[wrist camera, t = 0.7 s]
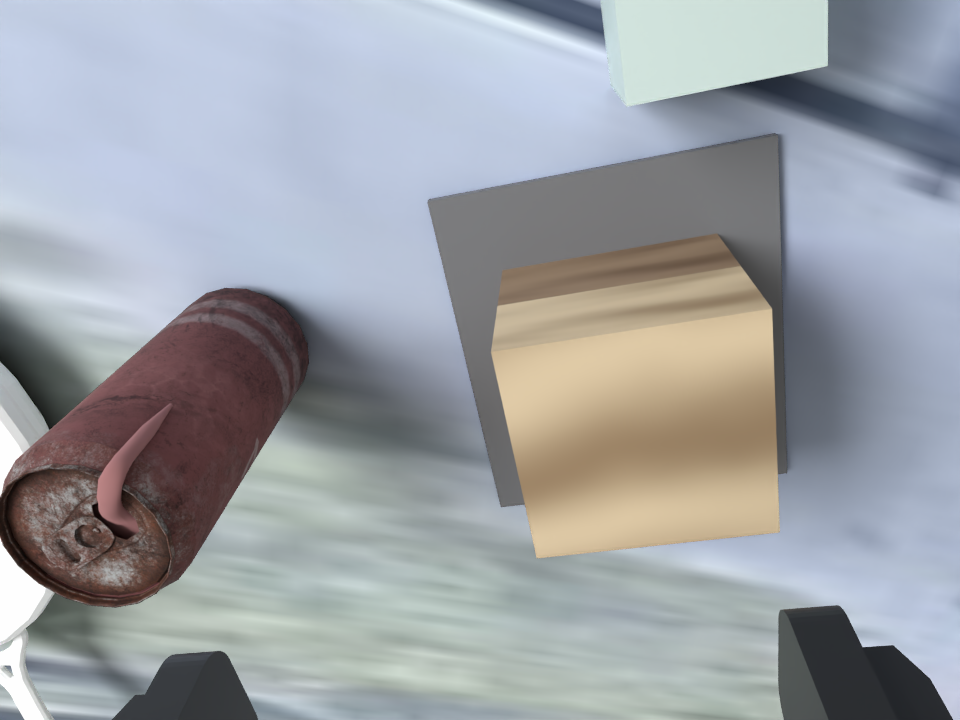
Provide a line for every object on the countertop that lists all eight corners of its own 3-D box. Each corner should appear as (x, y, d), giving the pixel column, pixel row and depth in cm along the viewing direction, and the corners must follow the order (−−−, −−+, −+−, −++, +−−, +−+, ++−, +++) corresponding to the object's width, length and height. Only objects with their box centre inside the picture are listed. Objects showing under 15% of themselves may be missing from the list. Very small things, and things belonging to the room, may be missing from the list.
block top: (497, 305, 28) (491, 351, 24) (741, 265, 26) (772, 308, 23) (537, 494, 32) (536, 558, 28) (751, 468, 30) (779, 532, 27)
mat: (428, 199, 30) (427, 201, 30) (774, 133, 28) (777, 135, 28) (501, 502, 37) (500, 507, 37) (784, 468, 35) (787, 472, 35)
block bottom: (502, 270, 31) (497, 305, 28) (716, 233, 30) (741, 265, 26) (537, 443, 35) (537, 494, 32) (729, 418, 34) (751, 468, 30)
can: (327, 306, 33) (199, 495, 21) (294, 416, 36) (164, 640, 23) (198, 258, 33) (-14, 423, 20) (175, 374, 35) (-24, 581, 23)
